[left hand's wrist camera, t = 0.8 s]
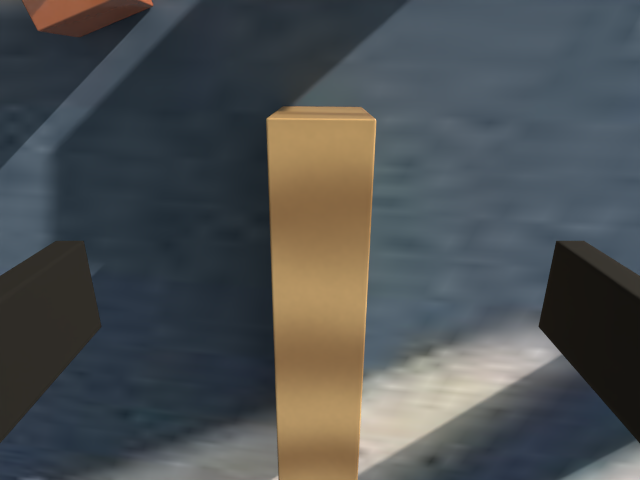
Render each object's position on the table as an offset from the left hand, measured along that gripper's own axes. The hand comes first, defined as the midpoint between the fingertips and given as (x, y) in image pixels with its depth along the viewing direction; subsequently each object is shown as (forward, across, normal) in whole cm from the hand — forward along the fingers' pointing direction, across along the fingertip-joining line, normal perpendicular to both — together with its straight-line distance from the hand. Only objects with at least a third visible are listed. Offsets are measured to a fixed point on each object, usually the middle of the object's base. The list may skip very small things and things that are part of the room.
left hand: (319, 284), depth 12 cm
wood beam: (+17, 0, +9) cm, 20 cm away
